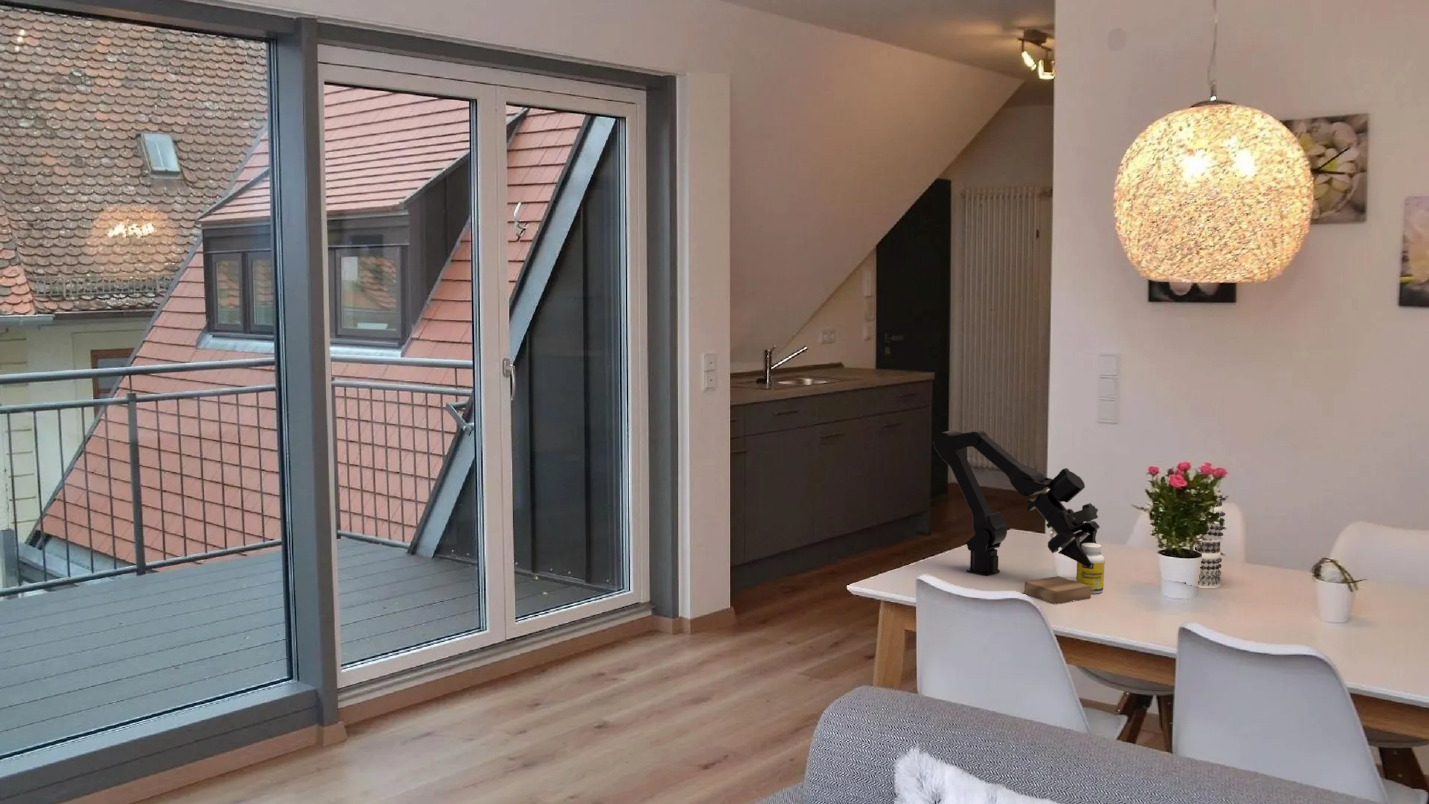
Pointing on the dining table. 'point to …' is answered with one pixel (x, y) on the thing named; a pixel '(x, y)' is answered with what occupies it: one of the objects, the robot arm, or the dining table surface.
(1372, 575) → the dining table surface
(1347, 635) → the dining table surface
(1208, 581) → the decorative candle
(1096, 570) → the pill bottle
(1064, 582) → the walnut plinth
